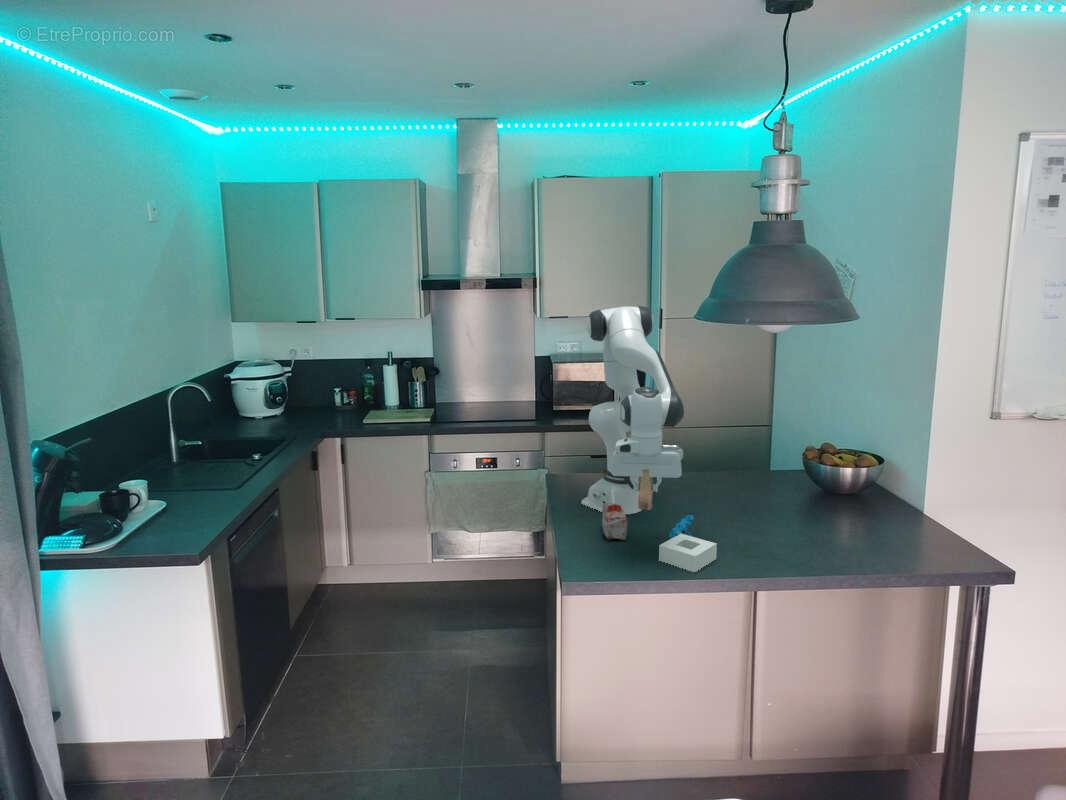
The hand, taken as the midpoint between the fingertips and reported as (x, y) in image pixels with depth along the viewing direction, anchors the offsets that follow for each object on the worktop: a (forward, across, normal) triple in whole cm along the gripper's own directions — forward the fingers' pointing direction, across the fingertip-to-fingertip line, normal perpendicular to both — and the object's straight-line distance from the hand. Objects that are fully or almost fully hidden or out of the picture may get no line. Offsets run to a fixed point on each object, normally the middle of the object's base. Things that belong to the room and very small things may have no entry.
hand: (645, 490), depth 207 cm
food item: (+22, +10, -19) cm, 30 cm away
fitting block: (+21, -12, -1) cm, 25 cm away
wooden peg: (+5, 0, 0) cm, 5 cm away
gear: (+22, -11, -18) cm, 30 cm away
